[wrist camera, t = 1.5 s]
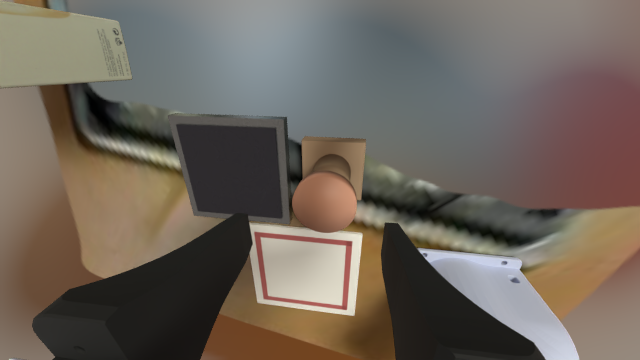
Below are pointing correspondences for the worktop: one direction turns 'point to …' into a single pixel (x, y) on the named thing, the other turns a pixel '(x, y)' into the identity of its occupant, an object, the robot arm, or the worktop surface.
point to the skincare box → (58, 48)
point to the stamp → (329, 182)
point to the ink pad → (235, 165)
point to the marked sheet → (305, 267)
